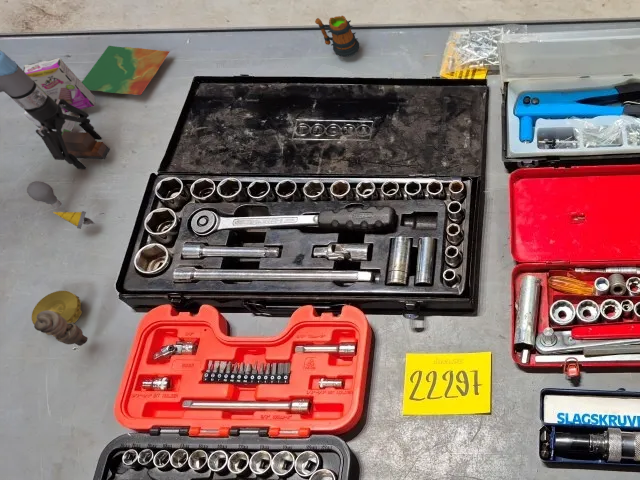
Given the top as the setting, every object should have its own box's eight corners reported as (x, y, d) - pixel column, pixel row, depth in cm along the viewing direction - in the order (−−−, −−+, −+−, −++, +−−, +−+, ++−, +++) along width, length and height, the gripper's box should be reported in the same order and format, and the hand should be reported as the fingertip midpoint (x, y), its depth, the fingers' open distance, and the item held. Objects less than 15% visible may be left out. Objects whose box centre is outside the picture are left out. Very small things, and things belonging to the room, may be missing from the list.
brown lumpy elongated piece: (81, 331, 147) (36, 307, 133) (99, 332, 146) (56, 309, 133) (71, 350, 144) (24, 327, 131) (90, 351, 144) (45, 329, 130)
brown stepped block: (69, 158, 174) (51, 141, 167) (75, 147, 176) (57, 131, 169) (105, 159, 174) (88, 143, 167) (110, 149, 176) (94, 132, 169)
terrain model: (170, 52, 196) (169, 51, 195) (141, 96, 186) (140, 95, 186) (108, 45, 198) (107, 44, 198) (76, 88, 188) (75, 87, 188)
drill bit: (91, 234, 161) (49, 223, 155) (93, 227, 165) (52, 216, 159) (96, 219, 160) (54, 207, 154) (98, 212, 164) (56, 200, 157)
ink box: (67, 141, 178) (38, 114, 167) (52, 141, 178) (22, 114, 167) (76, 122, 181) (48, 94, 171) (61, 122, 181) (32, 94, 171)
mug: (362, 38, 197) (353, 8, 187) (358, 57, 193) (348, 28, 182) (327, 38, 197) (316, 9, 187) (322, 57, 193) (311, 28, 183)
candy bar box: (61, 114, 183) (21, 75, 168) (62, 104, 185) (22, 64, 170) (95, 107, 184) (58, 67, 170) (96, 97, 186) (59, 56, 172)
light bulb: (44, 209, 165) (16, 189, 156) (59, 195, 168) (32, 174, 159) (58, 216, 164) (31, 195, 155) (73, 201, 166) (47, 181, 157)
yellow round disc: (35, 306, 151) (28, 302, 149) (79, 287, 153) (73, 283, 151) (41, 340, 146) (34, 336, 144) (86, 320, 148) (80, 316, 146)
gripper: (28, 132, 150) (85, 182, 169) (65, 72, 160) (115, 126, 180) (2, 132, 150) (63, 181, 170) (41, 72, 161) (94, 125, 180)
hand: (90, 153), depth 175 cm, fingers open, 12 cm apart
